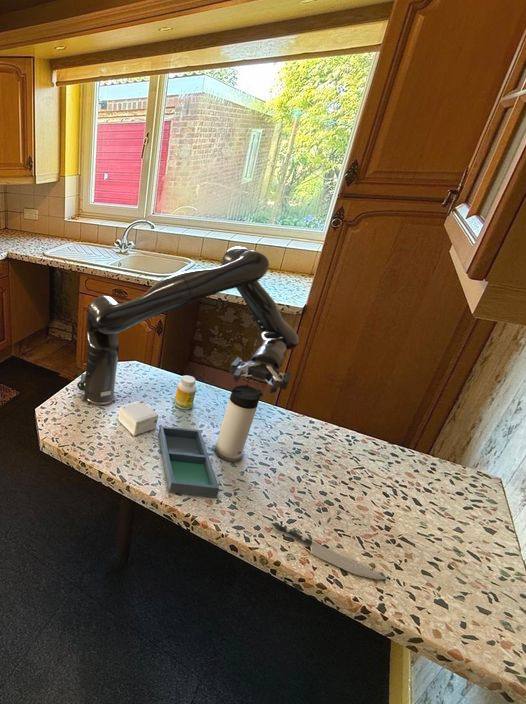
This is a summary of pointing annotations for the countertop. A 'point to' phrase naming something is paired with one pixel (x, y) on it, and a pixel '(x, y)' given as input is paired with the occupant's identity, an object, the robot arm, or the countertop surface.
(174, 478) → the tray
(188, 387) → the supplement bottle
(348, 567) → the chef's knife
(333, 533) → the countertop surface
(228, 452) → the travel mug
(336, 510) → the countertop surface
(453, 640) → the countertop surface
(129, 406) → the small box
